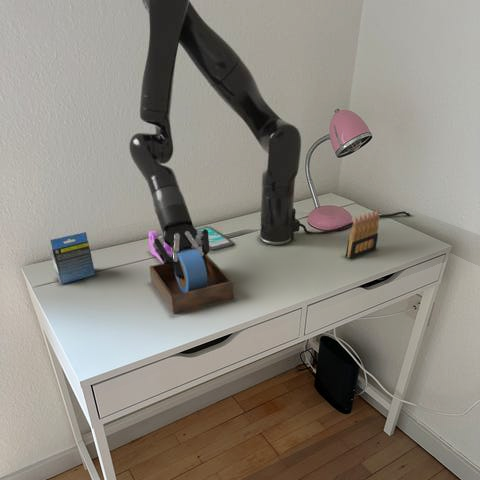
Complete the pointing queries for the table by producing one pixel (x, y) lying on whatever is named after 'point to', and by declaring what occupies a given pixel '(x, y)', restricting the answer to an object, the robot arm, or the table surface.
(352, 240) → the ammunition clip
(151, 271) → the wooden box
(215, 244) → the smartphone
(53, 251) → the blue retail box
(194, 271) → the tape roll
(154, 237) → the bracket
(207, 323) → the table surface
